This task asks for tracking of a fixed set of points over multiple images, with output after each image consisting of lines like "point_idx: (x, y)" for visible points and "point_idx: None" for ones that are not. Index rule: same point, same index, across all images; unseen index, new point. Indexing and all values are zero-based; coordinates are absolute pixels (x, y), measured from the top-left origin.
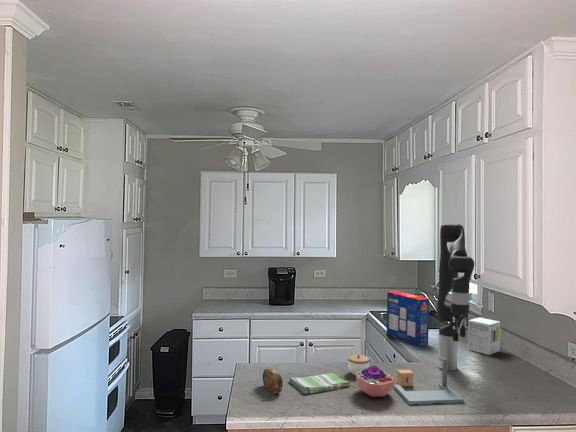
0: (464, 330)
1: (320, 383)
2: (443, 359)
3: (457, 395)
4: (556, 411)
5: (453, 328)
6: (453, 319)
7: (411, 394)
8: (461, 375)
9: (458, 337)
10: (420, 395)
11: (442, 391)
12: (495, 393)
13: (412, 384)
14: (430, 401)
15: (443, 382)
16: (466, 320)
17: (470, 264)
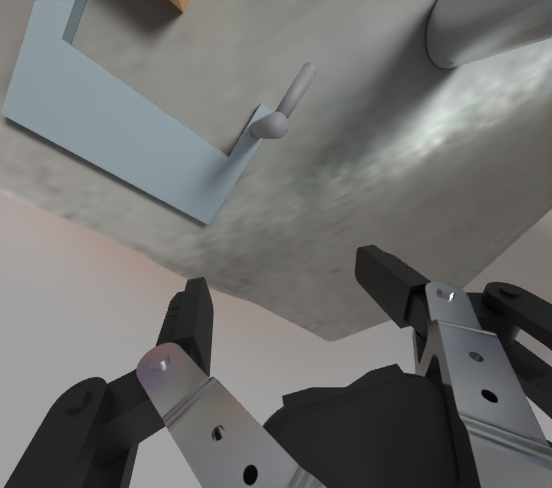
0: (391, 313)
1: None
2: (268, 120)
3: (217, 200)
4: (318, 332)
5: (154, 402)
6: None
7: (64, 80)
8: (403, 110)
9: (211, 334)
10: (96, 115)
11: (205, 153)
12: (328, 237)
13: (179, 6)
14: (100, 166)
15: (251, 130)
16: (545, 406)
17: None
